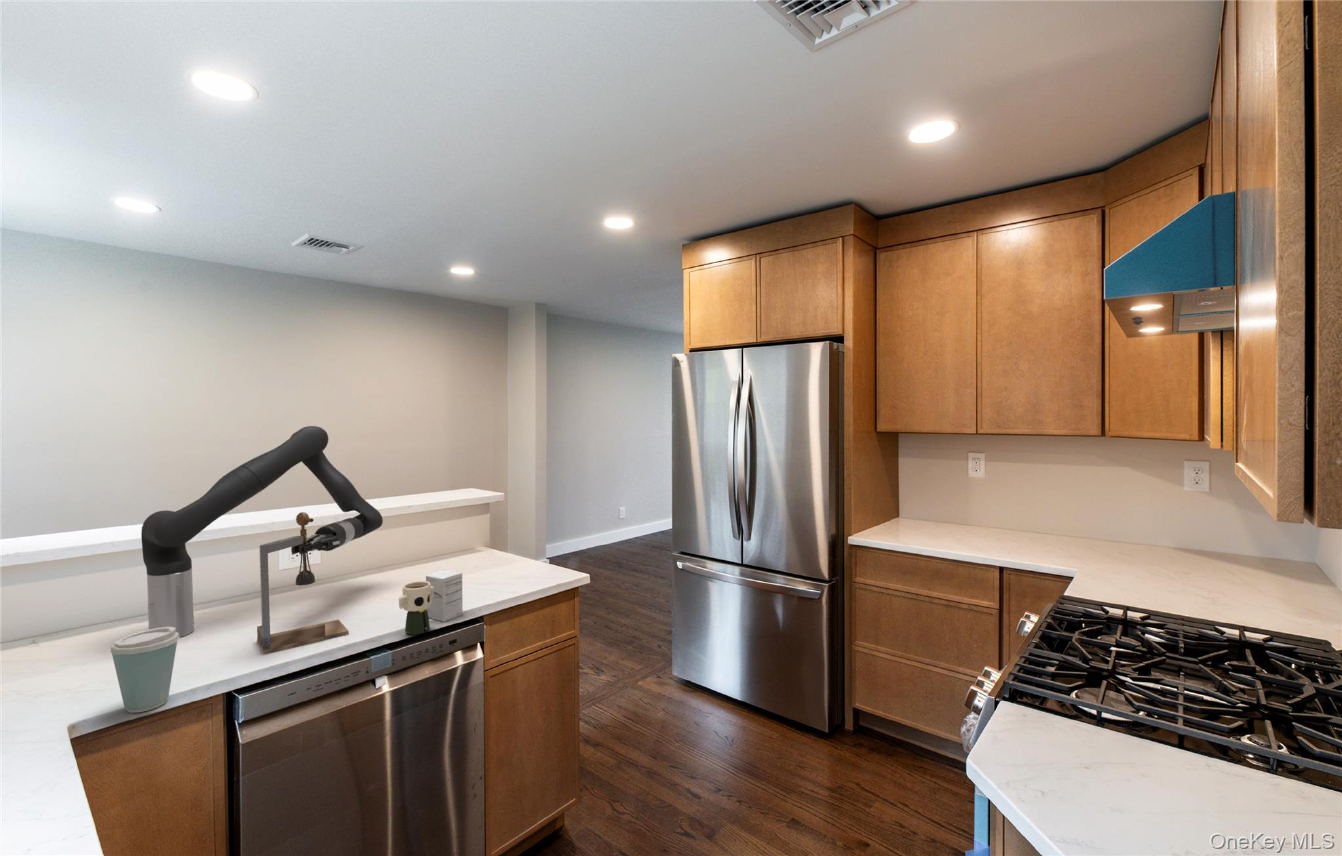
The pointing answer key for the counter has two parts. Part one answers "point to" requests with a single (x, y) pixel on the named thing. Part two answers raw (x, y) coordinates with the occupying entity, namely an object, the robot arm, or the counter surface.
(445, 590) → the supplement box
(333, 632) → the stand
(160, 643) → the disposable coffee cup
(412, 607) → the character mug
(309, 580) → the wooden tabletop sculpture
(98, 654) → the counter surface
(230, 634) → the counter surface
